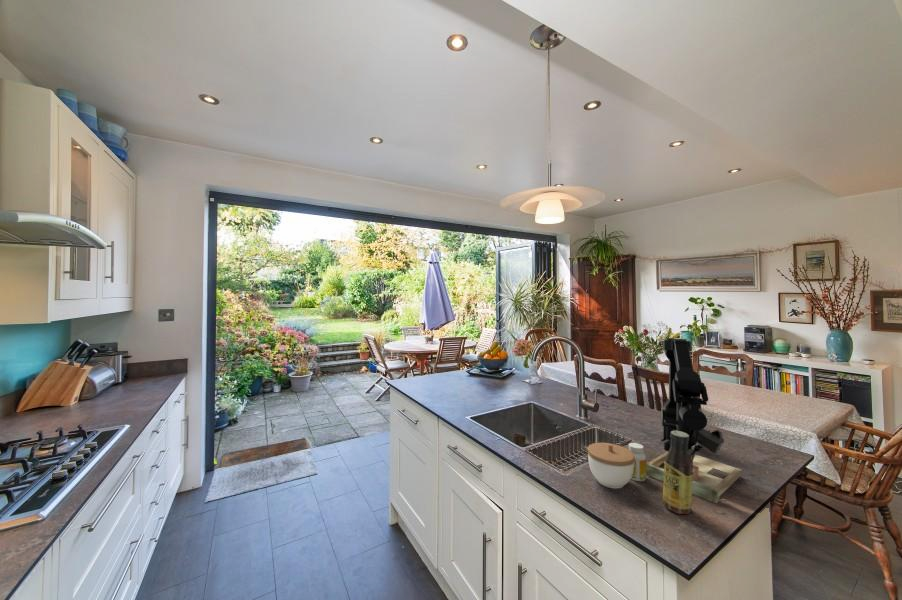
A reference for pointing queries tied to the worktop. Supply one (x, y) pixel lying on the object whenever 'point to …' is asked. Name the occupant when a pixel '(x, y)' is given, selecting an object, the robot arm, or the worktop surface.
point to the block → (695, 473)
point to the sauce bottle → (678, 475)
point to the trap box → (700, 476)
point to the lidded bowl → (611, 464)
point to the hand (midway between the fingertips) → (687, 469)
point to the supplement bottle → (638, 462)
